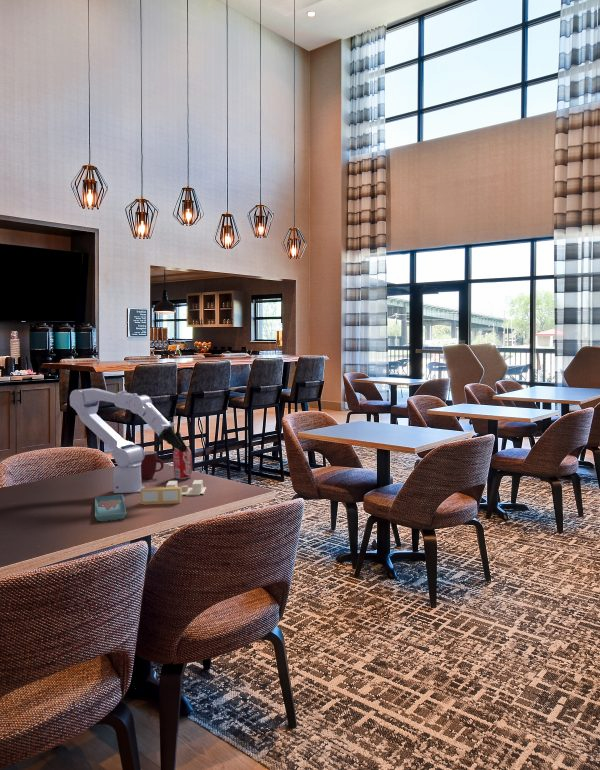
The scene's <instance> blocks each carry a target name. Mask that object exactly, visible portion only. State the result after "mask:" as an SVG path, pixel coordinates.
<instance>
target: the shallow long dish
mask: <svg viewBox="0 0 600 770" xmlns="http://www.w3.org/2000/svg"><path fill="white" fill-rule="evenodd" d="M119 499H120V500H121V503H119V504H117V505H116V507H115V508H113V507H111V508H110V509H109V510H106V508H105V507H98V502H101V501H109V500H119ZM102 506H104V505H102ZM126 515H127V508H126V504H125V498H124V494H116V495H107V496H106V495H105V496H97V497H95V498H94V518H95V519H96V521H97V522H98V521H101V522H107V521H108V520H110V521H117V520H118V519H120V520H124V519H125V517H126ZM108 522H109V521H108Z"/></svg>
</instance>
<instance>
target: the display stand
mask: <svg viewBox="0 0 600 770" xmlns="http://www.w3.org/2000/svg"><path fill="white" fill-rule="evenodd" d="M165 487H179V486H178V480H168V482H167V483H166V484H165ZM180 487H181V493H182V496H183V495H186V496H201V495H200V494H204V495H205V493H206V491H207V487H206V486H204V480H203V479H194V480H193V482H192V484H191V487H189V485H185V484H184V485H182V486H180ZM205 490H206V491H205ZM204 492H205V493H204Z"/></svg>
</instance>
